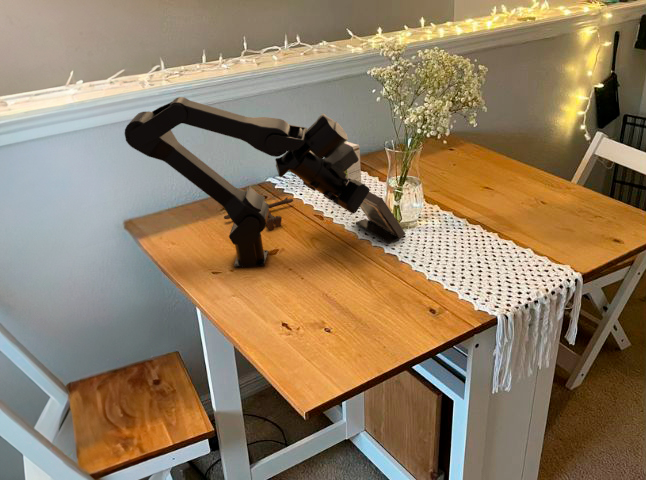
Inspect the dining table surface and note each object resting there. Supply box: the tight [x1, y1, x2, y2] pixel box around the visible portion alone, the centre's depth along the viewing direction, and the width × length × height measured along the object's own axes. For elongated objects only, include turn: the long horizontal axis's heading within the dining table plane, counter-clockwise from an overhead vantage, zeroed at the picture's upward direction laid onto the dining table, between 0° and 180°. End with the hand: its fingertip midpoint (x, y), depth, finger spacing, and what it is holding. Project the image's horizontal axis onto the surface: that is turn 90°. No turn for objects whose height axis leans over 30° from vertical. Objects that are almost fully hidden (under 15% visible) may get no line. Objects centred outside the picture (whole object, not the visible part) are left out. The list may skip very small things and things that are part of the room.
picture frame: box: [359, 191, 406, 240], centre depth 153 cm, size 2×12×12 cm
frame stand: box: [355, 218, 400, 245], centre depth 155 cm, size 3×13×1 cm, turn 37°
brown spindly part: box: [223, 197, 294, 231], centre depth 163 cm, size 18×4×14 cm
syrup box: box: [344, 140, 362, 183], centre depth 168 cm, size 6×6×14 cm
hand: (359, 203), depth 149 cm, fingers closed
